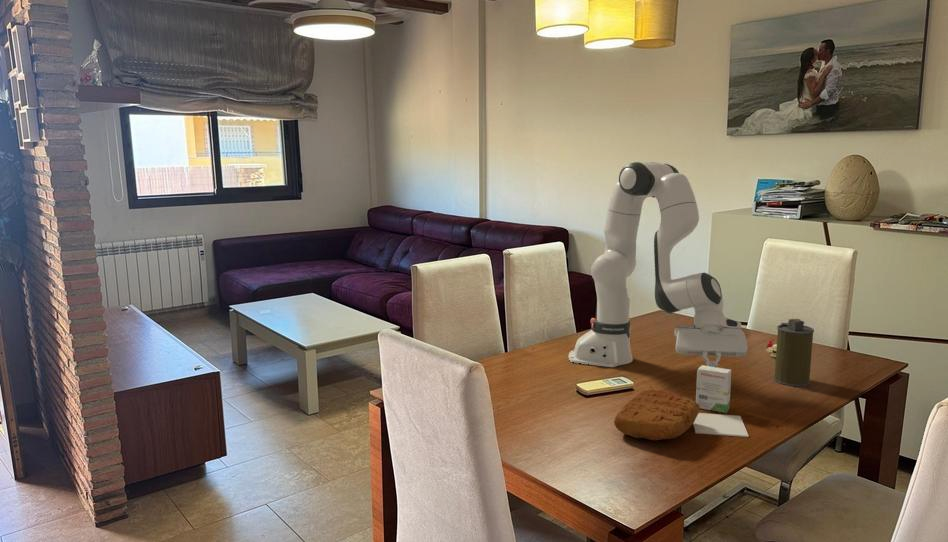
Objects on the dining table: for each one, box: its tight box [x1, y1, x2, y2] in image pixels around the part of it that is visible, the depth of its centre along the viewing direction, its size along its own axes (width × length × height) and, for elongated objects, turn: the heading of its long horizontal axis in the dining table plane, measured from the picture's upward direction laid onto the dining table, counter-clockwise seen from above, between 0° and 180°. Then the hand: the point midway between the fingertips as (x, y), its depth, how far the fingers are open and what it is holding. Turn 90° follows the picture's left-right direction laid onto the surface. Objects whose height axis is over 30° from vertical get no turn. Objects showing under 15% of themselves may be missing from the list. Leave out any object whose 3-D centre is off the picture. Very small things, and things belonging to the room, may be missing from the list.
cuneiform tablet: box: [613, 389, 700, 441], centre depth 169 cm, size 22×17×8 cm
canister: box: [773, 318, 815, 387], centre depth 203 cm, size 11×10×20 cm
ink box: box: [695, 364, 732, 414], centre depth 183 cm, size 8×5×12 cm, turn 57°
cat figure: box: [765, 337, 777, 358], centre depth 234 cm, size 10×9×25 cm
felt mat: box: [692, 412, 750, 438], centre depth 173 cm, size 13×13×1 cm
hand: (712, 367), depth 189 cm, fingers closed
